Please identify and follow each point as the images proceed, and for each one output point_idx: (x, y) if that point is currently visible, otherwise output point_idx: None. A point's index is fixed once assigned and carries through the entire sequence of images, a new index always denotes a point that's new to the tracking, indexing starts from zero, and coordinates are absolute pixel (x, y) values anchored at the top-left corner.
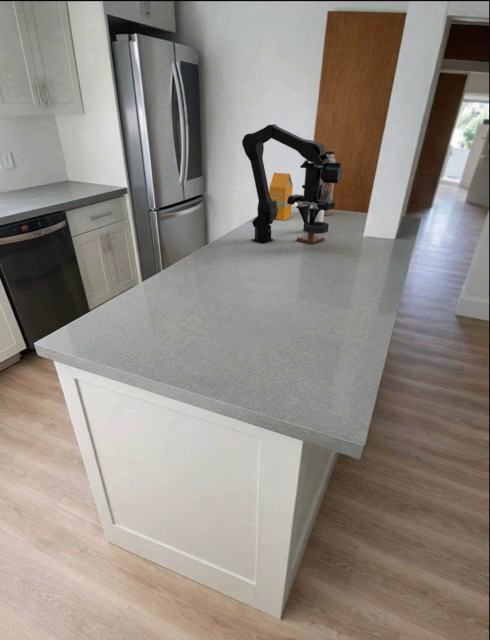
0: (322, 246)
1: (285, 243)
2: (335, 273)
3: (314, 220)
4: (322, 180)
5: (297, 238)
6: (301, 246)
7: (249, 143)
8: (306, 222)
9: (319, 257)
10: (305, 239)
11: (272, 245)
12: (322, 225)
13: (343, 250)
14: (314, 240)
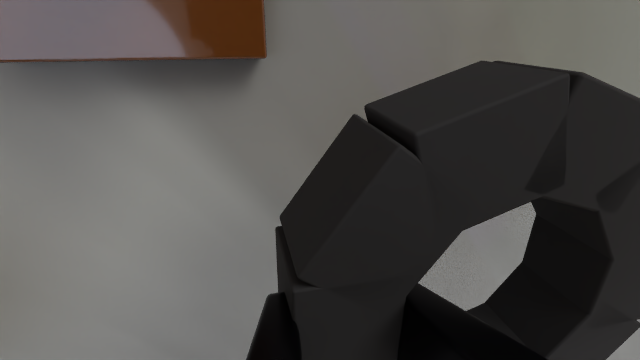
0: (383, 43)
1: (45, 235)
2: (616, 349)
3: (487, 331)
4: None
5: (3, 62)
6: (238, 190)
7: None
8: (305, 358)
9: (487, 269)
10: (147, 56)
11: (33, 353)
12: (614, 282)
13: (577, 13)
14: (259, 11)
